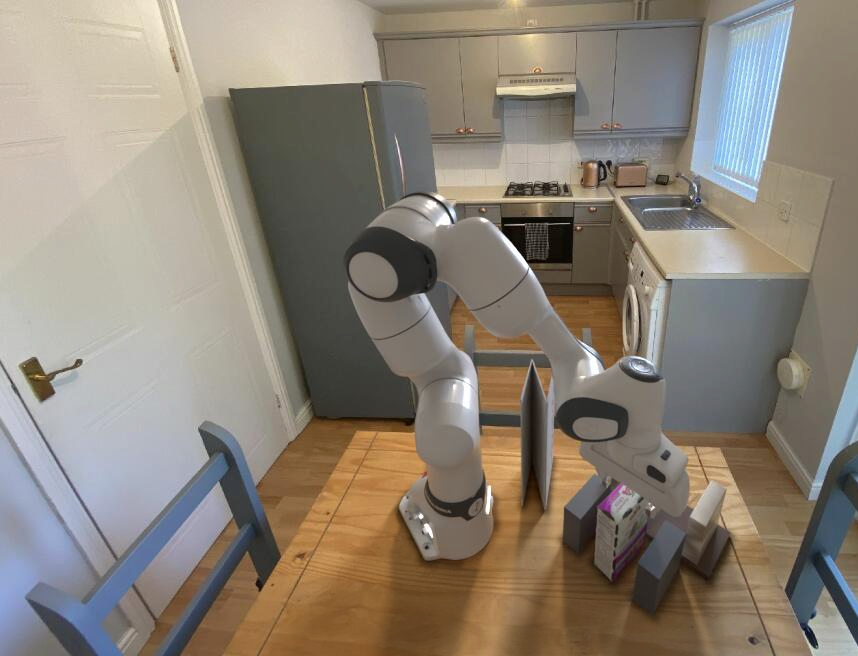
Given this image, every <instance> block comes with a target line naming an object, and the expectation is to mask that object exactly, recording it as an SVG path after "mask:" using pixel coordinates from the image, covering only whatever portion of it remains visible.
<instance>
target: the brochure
mask: <svg viewBox="0 0 858 656" xmlns="http://www.w3.org/2000/svg"><path fill="white" fill-rule="evenodd" d="M530 359H531V360H530V363H529V366H528V371H527V373H526V377H525V381H524V383H523V388H522V391H521V395H520V399H519V408H520V410H519V412H520V413H519V416H520V484H521V485H520V490H521V493H520V495H521V496H520V497H521V499H520V500H521V507H523V506H524V502H525V498H526V493H527V487H528V484H529V483H528V482H529V477H530V472H531V467H532V465H533V469H534V473H535V477H536V481H537V486H538V490H539V494H540V498H541V502H542V506H543V509H544V510H543V511H547V505H548V497H549V490H550V483H551V476H552V469H553V462H554V434H555V433H554V431H555V430H554V429H555V395H554V382H553V377H552V375H551V377H550V381H549V386H548V392H547V396H546V393H545V390H544V388H543V385H542V382H541V380H540V376H539V373H538V371H537V367H536V364H535V362H534V359H533V358H530Z"/></svg>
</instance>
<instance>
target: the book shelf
mask: <svg viewBox="0 0 858 656" xmlns="http://www.w3.org/2000/svg"><path fill="white" fill-rule="evenodd" d="M620 484H621V483H620V482H618V481H616V480H615V479H613V478H611V486H610V494H611V493H612V492H613V491H614V490H615V489H616V488H617V487H618V486H619V485H620ZM726 494H727V488H726V487H725V486H723V485H721V484H719V483H717V482H715V481H714V480H710V482H709V484H708V486H707V487H706V489H705V490H704V492H703V493H702V496H701V497H700V499H699V500H698V502H697V504H696V505H695V507H694V508H692V507H690V506H689V505H687V507H686V509H685V510H684V512H683V513H682V515H681V516H679V517H673V516H671V515H670V514H668V513H666V512H665V511H663V510H662V509H661V510H660V511H658V512H657V514H656V515H655V517H654V518H653V519H652V518H651V517H649V516H648V522H647V529H646V537H645V538H647V539H648V540H650V541H651V542H652V540H653V539H654V537H655V536H656V534H657V533H658V531H659V530H660V528H661V527H662V525H663V523H664V522H665V520H666V521H668V522H669V523H671V524H672V525H674V526H675V527H677V528H678V529H680V530H681V531H683V532H684V533H686V537H685V542H684V546H683V551H682V556H681V560H680V563H682V564H683V565H685V566H686V567H688V568H689V569H690V570H692V571H693V572H695V573H696V574H698V575H699V576H700V577H702V578H703V579H704V580H706V581H709V580H710V579H711V576H712V574H713V572H714V570H715V568H716V566H717V563H718V561H719V559H720V557H721V556H722V553H723V551H724V549H725V547H726V545H727V544H728V543H727V542H728V540H729V539H730V536H731V534H732V533H731V531H729V530H728V529H726V528H725V527H723V526H721V525H720V524H719V521H720V518H721V513H722V509H723V506H724V501H725V498H726Z"/></svg>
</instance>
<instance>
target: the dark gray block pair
mask: <svg viewBox="0 0 858 656" xmlns="http://www.w3.org/2000/svg"><path fill="white" fill-rule="evenodd" d="M610 486H611V484H610V485H609V486H608V488H606V487H604V486H603V485H601V484H600V478H599V476H598V474H597V473H593V475H592V476H591V477H590V478H589V479H588V480H587V481H586V482H585V483H584V484H583V486H582V487H581V488H579V490H578V491H577V492H576V493H575V494H574V495H573V496H572V498H570V500H569V501H568V502H566V504H565V505H564V506H563V520H562V521H563V523H562V541H563V542H564V543H565V544H566V545H567V546H568V547H570V549H572V550H573V551H574V552H576V553H577V554H579V553H581V551H582V550H583V548H584V547H585V546H586V545H587V543H588V542H589V541H590V539H592V537H593V536H594V535H595V534H596V520H597V506H598V505H599V504H600V503H601V502H602V501H603V500H604V499H606V498H607V497H608V496H609V495H610ZM685 537H686V533H684V532H683V531H681V530H680V529H678V528H677V527H675V526H674V525H672V524H671V523H669V522H668V521H666V520H665V522H664V523H663V525H662V527H661V528H660V530H659V531H658V533H657V534H656V536H655V537H654V539H653V540H652V541H651V542H650V543H649V545H648V547H647V548H646V549H645V551H644V552H643V554H642V556H641V557H640V558H639V560H638V562H637V565H636V572H635V578H634V579H635V580H634V584H633V592H632V596H631V597H632V598H631V599H632V600H633V601H635V602H636V604H638V605H639V606H641V607H642V608H643V609H644V610H645V611H647V612H648V613H649V614H650V615H651V616H654V614H655V612H656V610H657V609H658V607H659V605H660V603H661V601H662V600H663V598H664V596H665V594H666V592H667V590H668V589H669V587H670V585H671V583H672V582H673V580H674V578H675V576H676V574H677V572H678V571H679V569H680V565H681V561H680V560H681V556H682V551H683V546H684V542H685Z"/></svg>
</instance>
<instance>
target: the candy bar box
mask: <svg viewBox="0 0 858 656" xmlns="http://www.w3.org/2000/svg"><path fill="white" fill-rule="evenodd" d="M649 503H650V502H649V501H648V500H646V499H645V498H643V497H641V496H640V495H638V494H637V493H635V492H634V491H632V490H631V489H629V488H627V487H626V486H624V485H623V484H620V485H619V486H618V487H617V488H616V489H615V490H614V491H613V492H612V493H611V494H610V495H609V496H608V497H607V498H606V499H604V500H603V501H602V502H601V503H600V504H599V505H598V506H597V520H596V532H595V538H594V553H593V554H594V555H593V556H594V557H593V565H594V566H595V567H596V568H597V569H598V570H600V571H601V572H602V573H603V574H604V575H605V576H606V577H607V579H609V580H610V581H611V582H612V583H614V581H615V580H616V579H617V577H619V575H620V574H621V573H622V572H623V570H624V569H625V568H626V567H627V566H628V564H629V563H630V562H631V561H632V560H633V559H634V558H635V556H636V555H637V554H639V552H640V551H641V549H642V548H643V547H644V546H645V545H646V538H647V537H646V529H647V522H648V515H646V514H645V512H646V511H645V510H646V507H647V506H648V505H649Z"/></svg>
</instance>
